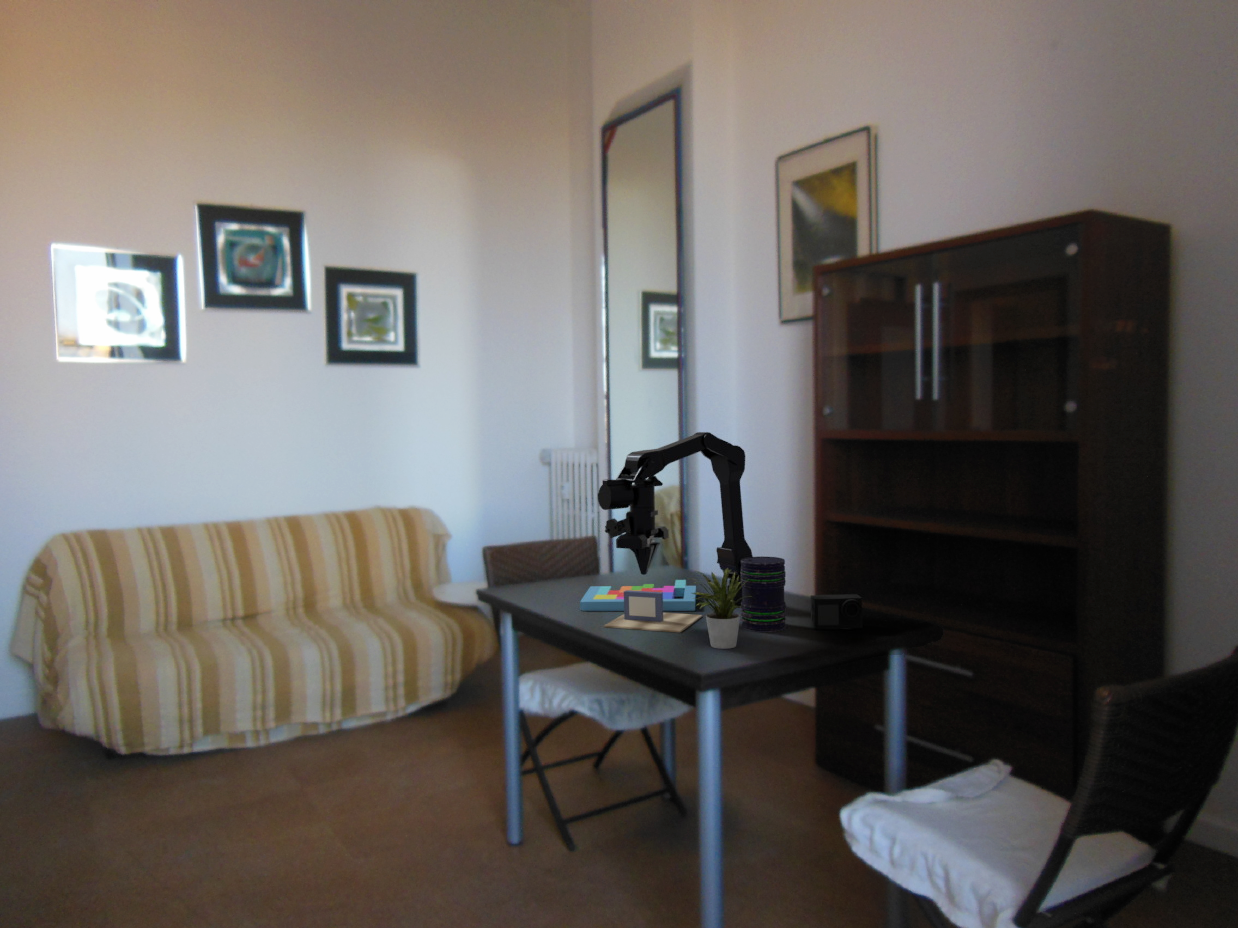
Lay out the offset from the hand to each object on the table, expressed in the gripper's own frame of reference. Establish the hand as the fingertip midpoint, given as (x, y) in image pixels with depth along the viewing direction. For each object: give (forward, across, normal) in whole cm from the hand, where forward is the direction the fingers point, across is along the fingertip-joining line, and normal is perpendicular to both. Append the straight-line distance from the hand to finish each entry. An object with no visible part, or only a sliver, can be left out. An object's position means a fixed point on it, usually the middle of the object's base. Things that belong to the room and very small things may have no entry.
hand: (643, 574), depth 205 cm
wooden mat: (+11, 0, +2) cm, 11 cm away
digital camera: (+11, -6, +42) cm, 44 cm away
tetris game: (+12, -24, -10) cm, 28 cm away
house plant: (+11, +14, +22) cm, 28 cm away
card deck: (+11, 0, 0) cm, 11 cm away
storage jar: (+11, -3, +27) cm, 29 cm away
